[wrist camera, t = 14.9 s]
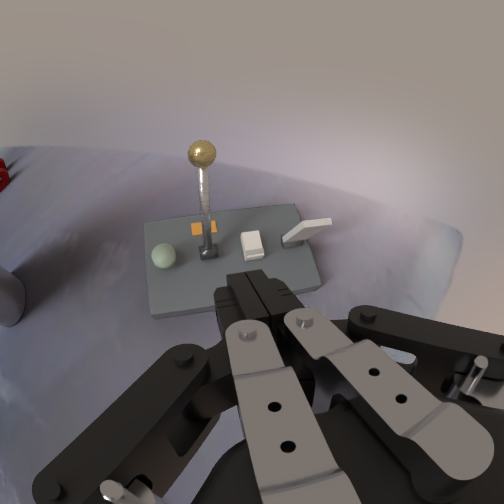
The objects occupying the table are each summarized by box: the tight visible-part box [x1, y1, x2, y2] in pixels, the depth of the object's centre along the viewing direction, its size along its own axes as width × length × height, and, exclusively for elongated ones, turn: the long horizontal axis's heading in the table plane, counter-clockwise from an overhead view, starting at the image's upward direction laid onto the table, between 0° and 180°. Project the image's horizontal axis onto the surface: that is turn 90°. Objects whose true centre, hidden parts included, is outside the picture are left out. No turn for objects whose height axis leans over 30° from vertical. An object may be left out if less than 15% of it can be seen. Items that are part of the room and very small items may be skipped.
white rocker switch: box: [240, 230, 264, 261], centre depth 38 cm, size 4×2×2 cm, turn 14°
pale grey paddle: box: [281, 218, 332, 248], centre depth 35 cm, size 2×4×10 cm, turn 104°
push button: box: [151, 243, 176, 270], centre depth 35 cm, size 3×3×3 cm
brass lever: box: [188, 140, 219, 261], centre depth 32 cm, size 3×3×16 cm
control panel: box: [143, 204, 322, 319], centre depth 40 cm, size 14×24×3 cm, turn 103°
